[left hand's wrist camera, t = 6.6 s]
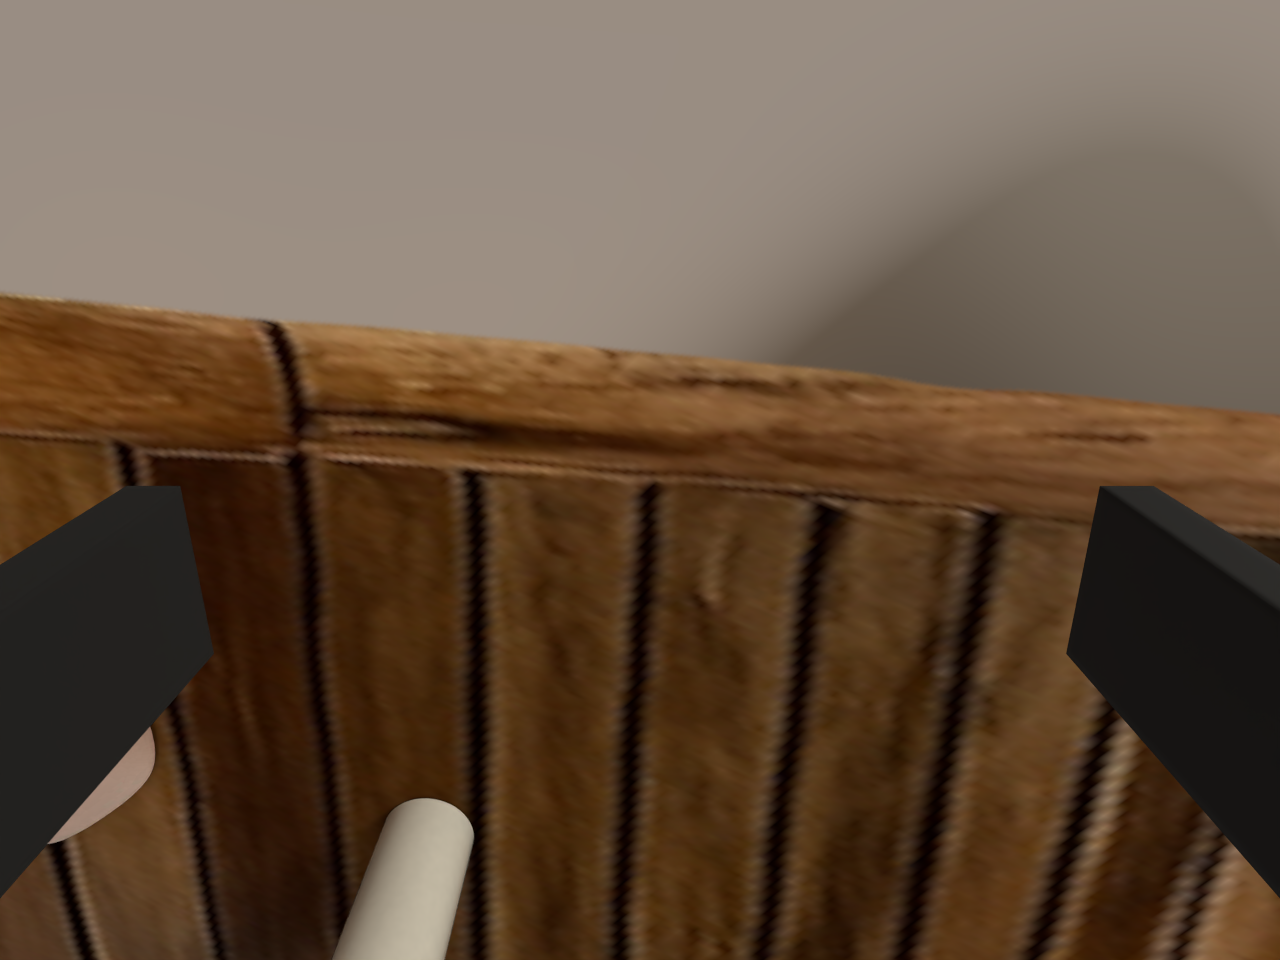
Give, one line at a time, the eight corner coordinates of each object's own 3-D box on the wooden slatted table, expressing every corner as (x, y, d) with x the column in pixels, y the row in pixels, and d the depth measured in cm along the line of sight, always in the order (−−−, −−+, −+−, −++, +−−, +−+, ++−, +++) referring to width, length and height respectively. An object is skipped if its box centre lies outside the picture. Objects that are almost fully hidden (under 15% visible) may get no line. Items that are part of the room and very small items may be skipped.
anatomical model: (20, 651, 40) (172, 823, 44) (73, 610, 44) (208, 771, 48) (-186, 756, 42) (-25, 912, 46) (-119, 708, 46) (25, 856, 50)
